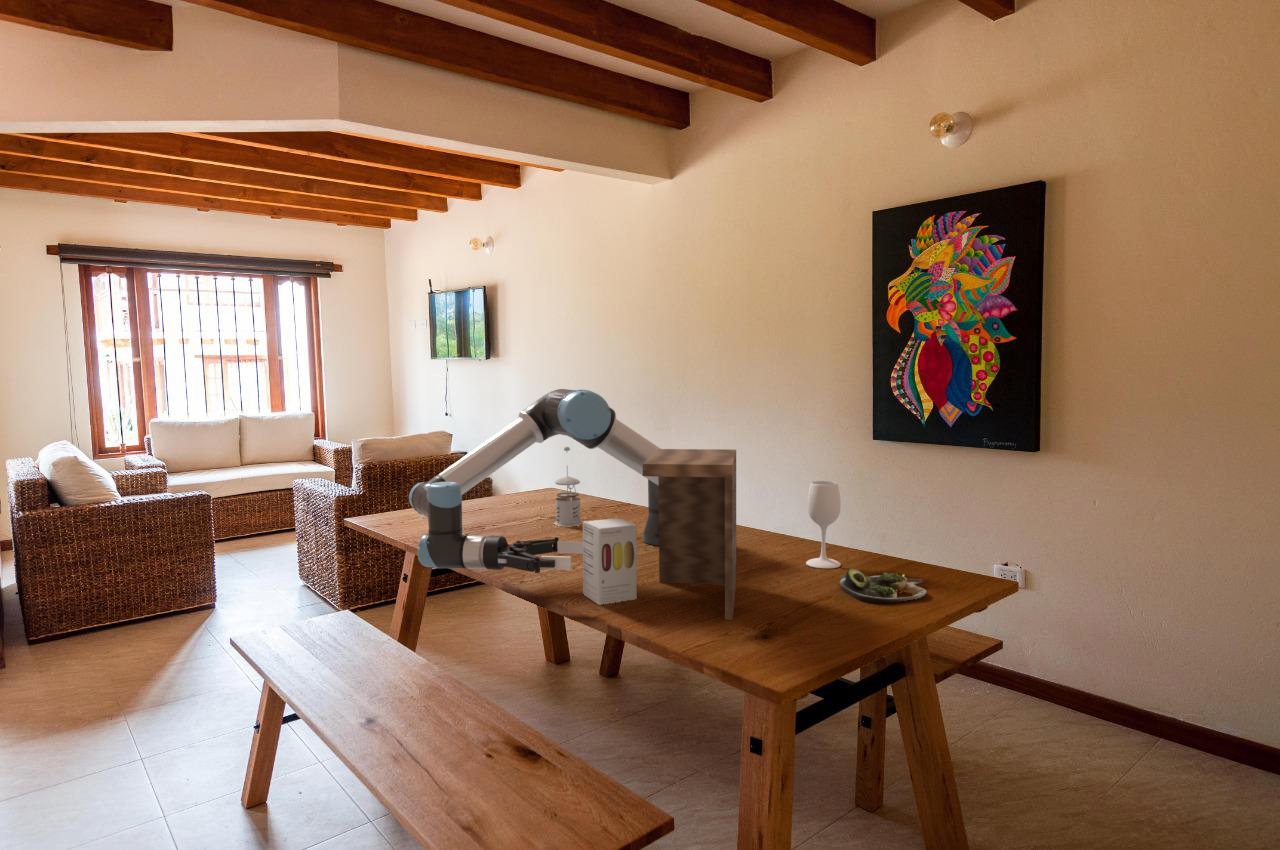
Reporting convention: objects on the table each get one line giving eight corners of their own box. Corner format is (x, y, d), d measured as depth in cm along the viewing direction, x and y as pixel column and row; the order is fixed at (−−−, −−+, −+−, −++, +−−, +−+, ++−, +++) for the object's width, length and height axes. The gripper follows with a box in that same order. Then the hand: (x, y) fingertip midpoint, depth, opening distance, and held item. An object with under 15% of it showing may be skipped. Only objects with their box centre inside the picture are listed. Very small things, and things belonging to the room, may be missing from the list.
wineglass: (841, 569, 193) (842, 485, 191) (806, 568, 194) (806, 485, 193) (840, 560, 201) (840, 480, 199) (805, 559, 203) (806, 479, 201)
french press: (549, 527, 245) (547, 448, 243) (559, 519, 257) (557, 444, 255) (579, 527, 244) (578, 448, 242) (588, 520, 255) (586, 444, 253)
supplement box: (598, 606, 166) (597, 528, 165) (581, 594, 175) (580, 520, 173) (638, 599, 171) (637, 523, 169) (620, 588, 179) (619, 516, 177)
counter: (644, 616, 159) (642, 463, 157) (660, 580, 185) (659, 449, 182) (732, 619, 157) (732, 464, 154) (736, 583, 182) (736, 449, 180)
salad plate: (902, 578, 186) (903, 559, 186) (948, 600, 169) (948, 580, 168) (828, 584, 182) (828, 564, 181) (867, 608, 164) (867, 586, 164)
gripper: (505, 554, 188) (590, 557, 185) (466, 584, 164) (564, 588, 161) (504, 524, 188) (590, 526, 185) (465, 549, 163) (563, 552, 160)
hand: (578, 555), depth 173 cm, fingers open, 13 cm apart
